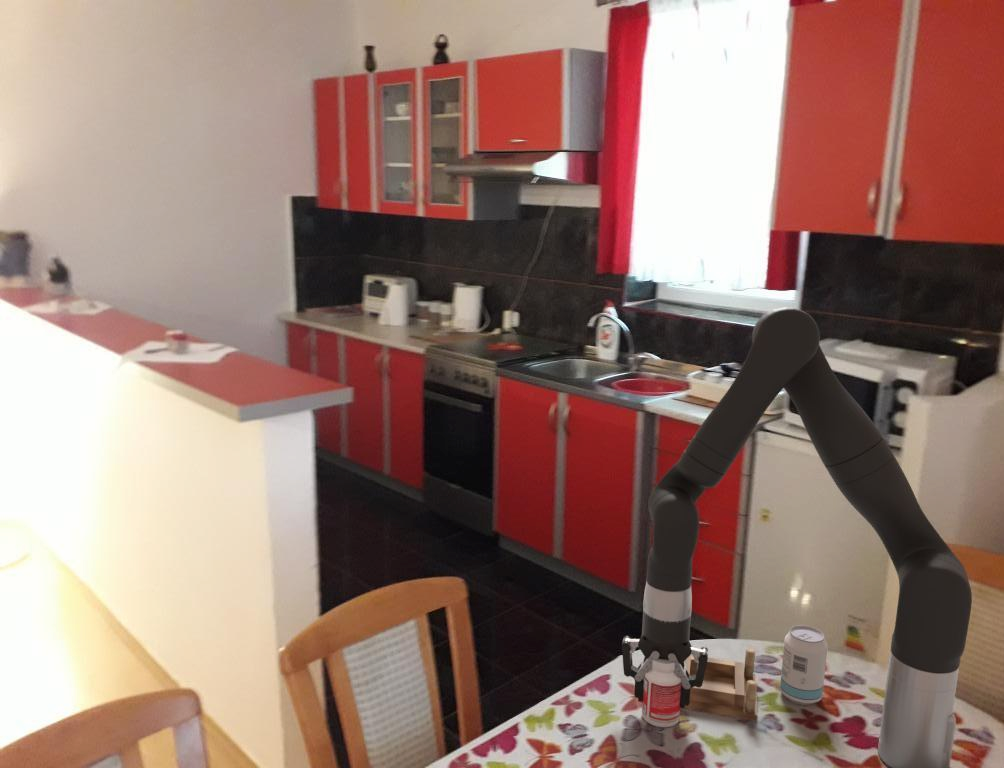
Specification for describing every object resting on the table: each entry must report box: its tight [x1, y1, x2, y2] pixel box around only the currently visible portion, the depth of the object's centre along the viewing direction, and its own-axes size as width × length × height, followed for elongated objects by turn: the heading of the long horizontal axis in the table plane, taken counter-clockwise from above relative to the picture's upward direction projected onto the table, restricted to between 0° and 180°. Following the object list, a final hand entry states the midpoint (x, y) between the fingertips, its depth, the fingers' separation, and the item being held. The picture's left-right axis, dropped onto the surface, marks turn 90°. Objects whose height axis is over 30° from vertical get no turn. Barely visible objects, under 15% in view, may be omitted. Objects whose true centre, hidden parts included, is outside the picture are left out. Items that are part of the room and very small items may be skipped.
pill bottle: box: [641, 659, 682, 728], centre depth 135 cm, size 6×6×11 cm
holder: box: [684, 648, 758, 722], centre depth 143 cm, size 15×13×6 cm
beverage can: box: [779, 625, 829, 706], centre depth 142 cm, size 7×7×12 cm
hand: (661, 702), depth 136 cm, fingers closed on pill bottle, 6 cm apart
